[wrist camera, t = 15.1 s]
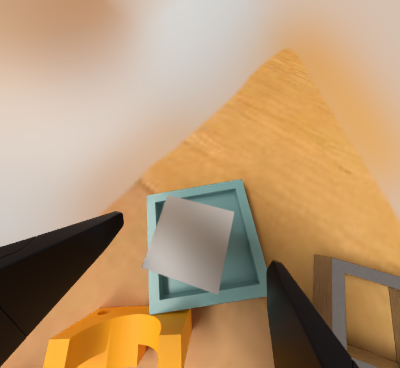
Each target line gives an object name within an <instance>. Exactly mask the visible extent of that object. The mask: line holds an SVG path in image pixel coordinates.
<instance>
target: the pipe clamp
mask: <svg viewBox="0 0 400 368" xmlns="http://www.w3.org/2000/svg"><path fill="white" fill-rule="evenodd" d="M191 332H192V317H191V308H190V309H184V310H177V311H171V312H165V313H158V314H152V315H150V312H149V306H129V307H109V308H99V309H98V310H96V311H94V312H93V313H91V314H90V315H88V316H86V317H85V318H83V319H82V320H80V321H78V322H77V323H75V324H73V325H72V326H70V327H69V328H67V329H65V330H64V331H62V332H61V333H59V334H57V335H56V336H54V337H53V338H51V339H49V344H48V348H47V352H46V357H45V361H44V366H43V368H124V367H137V365H138V364H139V362H140V360H141V359H142V357H143V355H144V354H145V352H146V346H149V347H151V348H153V349H154V350H155V351H156V352H157V353H158V368H184V363H185V359H186V354H187V350H188V345H189V341H190V336H191Z"/></svg>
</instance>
